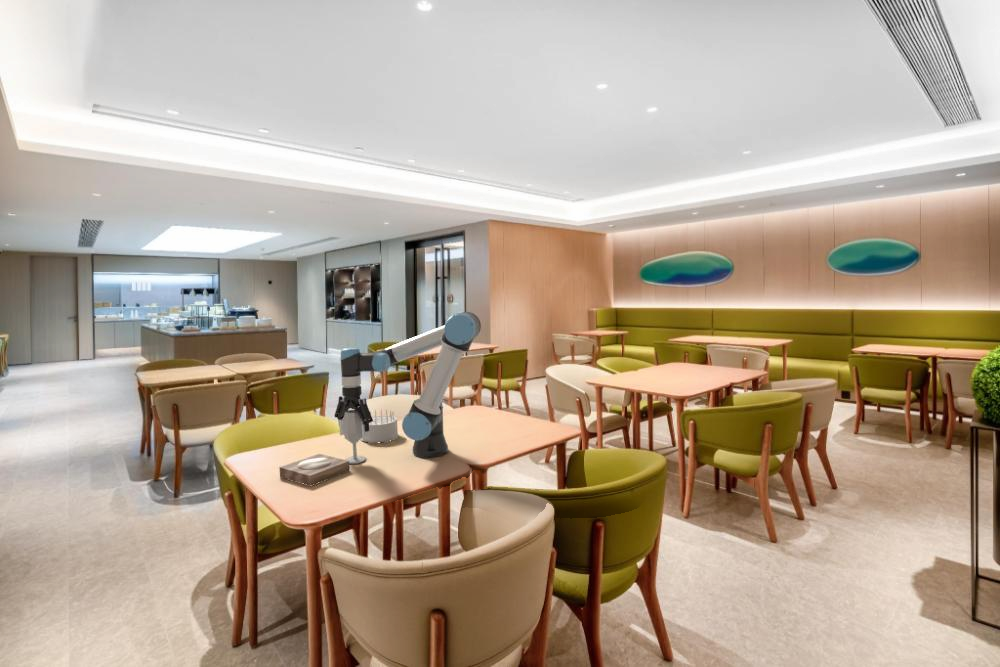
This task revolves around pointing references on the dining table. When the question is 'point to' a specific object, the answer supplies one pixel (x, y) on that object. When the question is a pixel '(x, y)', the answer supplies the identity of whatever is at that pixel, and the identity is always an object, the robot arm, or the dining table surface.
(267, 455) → the dining table surface
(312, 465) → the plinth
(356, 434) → the wineglass
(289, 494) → the dining table surface
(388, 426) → the cake
